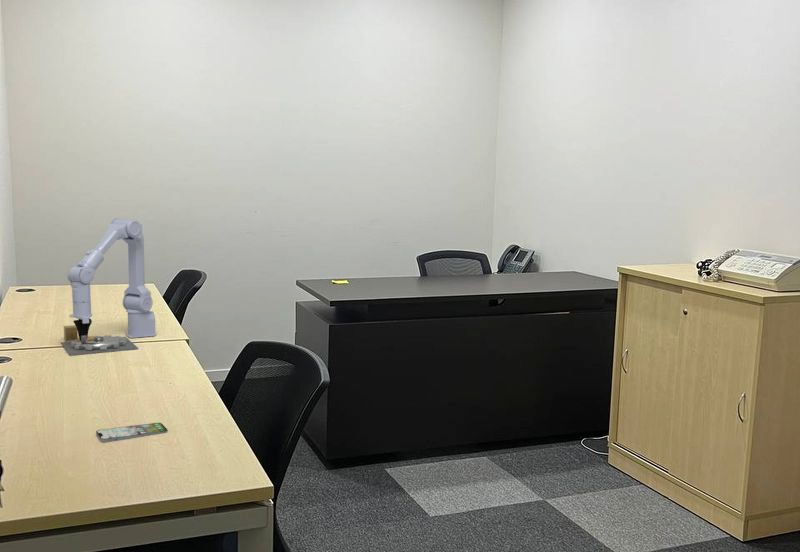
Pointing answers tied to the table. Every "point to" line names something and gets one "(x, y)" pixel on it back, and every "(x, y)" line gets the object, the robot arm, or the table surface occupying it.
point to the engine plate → (73, 351)
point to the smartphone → (130, 432)
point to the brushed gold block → (70, 333)
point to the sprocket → (98, 342)
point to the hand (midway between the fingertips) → (83, 340)
